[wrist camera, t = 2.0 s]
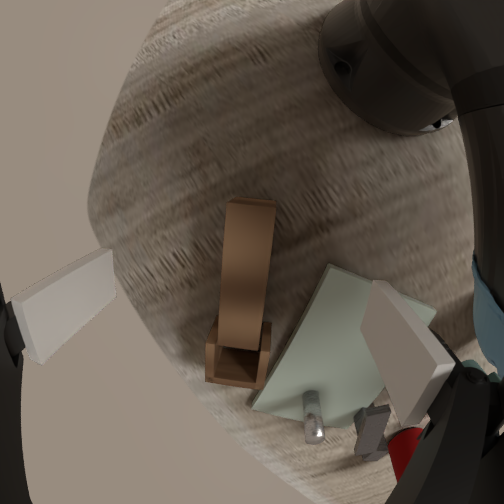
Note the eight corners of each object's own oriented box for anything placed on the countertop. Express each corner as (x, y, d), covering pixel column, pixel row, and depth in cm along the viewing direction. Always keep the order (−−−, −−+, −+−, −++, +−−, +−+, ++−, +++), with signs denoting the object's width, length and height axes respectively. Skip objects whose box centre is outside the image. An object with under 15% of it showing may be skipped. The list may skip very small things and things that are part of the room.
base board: (328, 262, 25) (330, 267, 24) (432, 306, 25) (437, 311, 24) (252, 402, 31) (251, 409, 30) (345, 423, 31) (347, 429, 30)
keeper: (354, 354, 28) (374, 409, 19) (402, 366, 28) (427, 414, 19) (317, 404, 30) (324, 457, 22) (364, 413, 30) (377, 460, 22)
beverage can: (384, 451, 33) (397, 504, 22) (388, 432, 32) (406, 490, 20) (418, 439, 32) (436, 489, 21) (426, 419, 31) (449, 473, 19)
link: (224, 195, 24) (212, 201, 19) (288, 202, 24) (291, 209, 19) (215, 352, 29) (205, 381, 24) (265, 359, 29) (263, 389, 24)
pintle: (306, 388, 28) (311, 433, 22) (322, 392, 28) (328, 435, 22) (299, 399, 29) (301, 442, 22) (313, 402, 29) (318, 445, 22)
